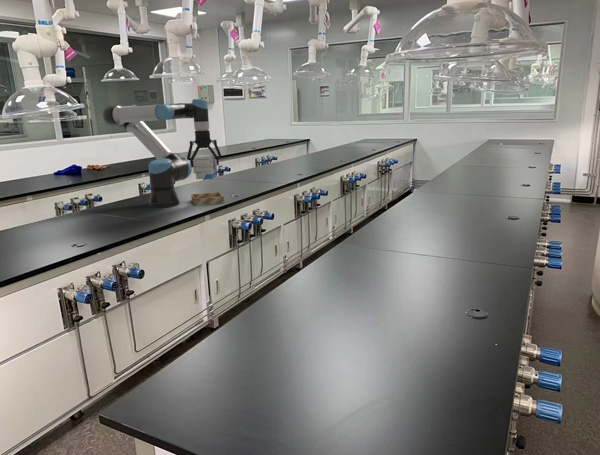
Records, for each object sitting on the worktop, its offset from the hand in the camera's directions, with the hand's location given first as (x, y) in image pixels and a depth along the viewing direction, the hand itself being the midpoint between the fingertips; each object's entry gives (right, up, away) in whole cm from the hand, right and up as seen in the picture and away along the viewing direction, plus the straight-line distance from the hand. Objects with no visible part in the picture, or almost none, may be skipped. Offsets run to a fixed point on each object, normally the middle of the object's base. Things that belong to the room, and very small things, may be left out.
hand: (205, 172), depth 237 cm
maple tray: (0, -15, +4) cm, 16 cm away
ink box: (0, -3, +1) cm, 3 cm away
